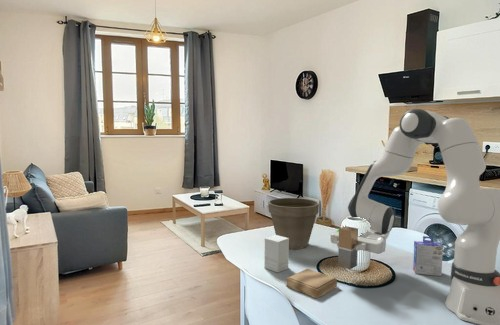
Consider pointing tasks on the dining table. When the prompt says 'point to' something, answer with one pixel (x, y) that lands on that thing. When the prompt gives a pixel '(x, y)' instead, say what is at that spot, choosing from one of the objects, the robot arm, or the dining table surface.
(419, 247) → the ink cartridge box
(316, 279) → the oak plinth
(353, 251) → the block
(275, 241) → the supplement box
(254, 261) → the dining table surface
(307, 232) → the plant pot
